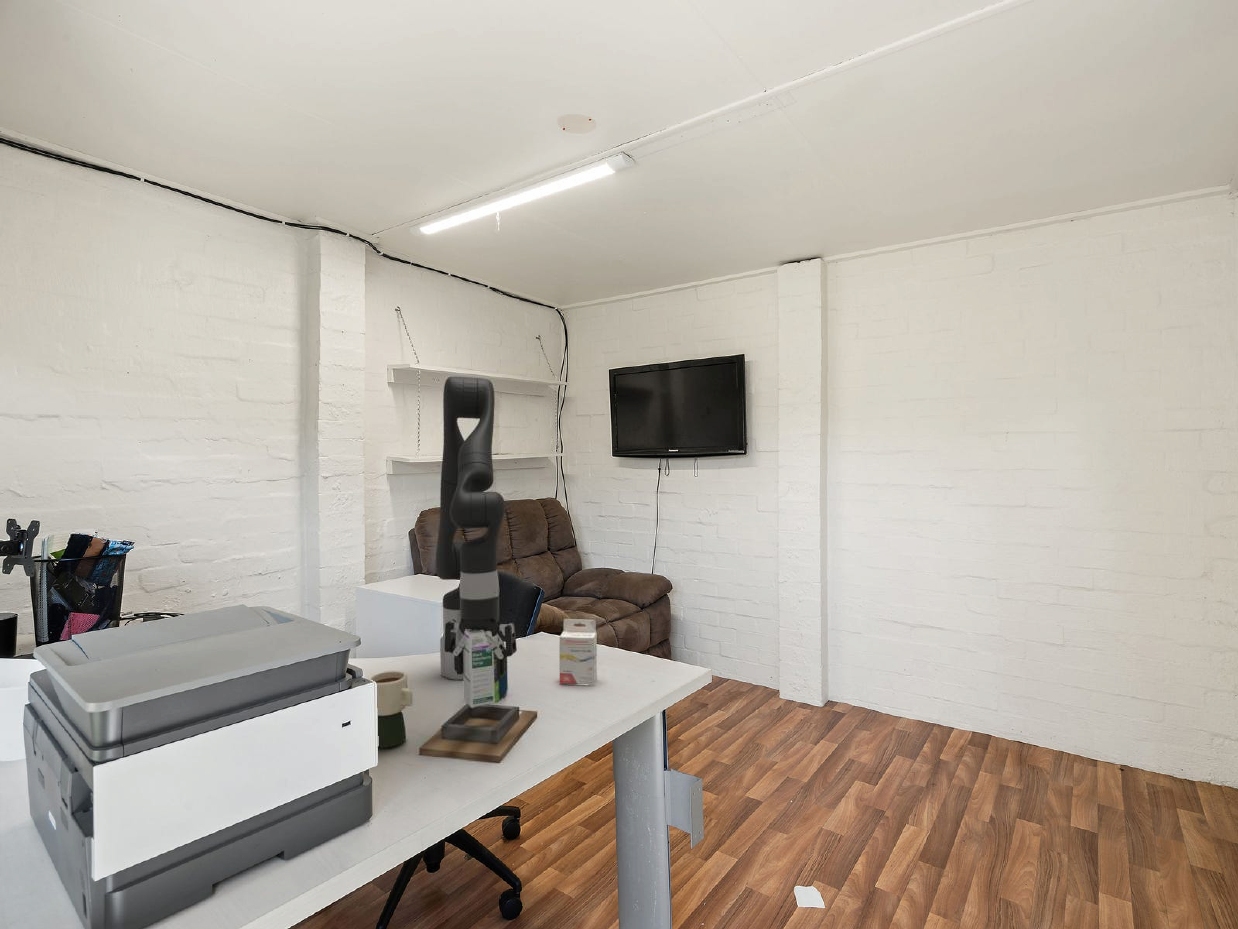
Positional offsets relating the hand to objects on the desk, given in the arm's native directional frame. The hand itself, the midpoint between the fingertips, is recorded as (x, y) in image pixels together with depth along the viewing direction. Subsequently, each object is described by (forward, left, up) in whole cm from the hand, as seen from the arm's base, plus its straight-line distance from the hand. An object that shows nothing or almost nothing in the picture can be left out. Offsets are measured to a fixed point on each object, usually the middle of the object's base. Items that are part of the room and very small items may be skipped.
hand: (480, 674), depth 129 cm
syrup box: (0, 0, -5) cm, 5 cm away
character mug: (-16, -7, -12) cm, 21 cm away
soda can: (-6, +19, -12) cm, 23 cm away
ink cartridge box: (+11, +31, -12) cm, 35 cm away
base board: (0, 0, -12) cm, 12 cm away
